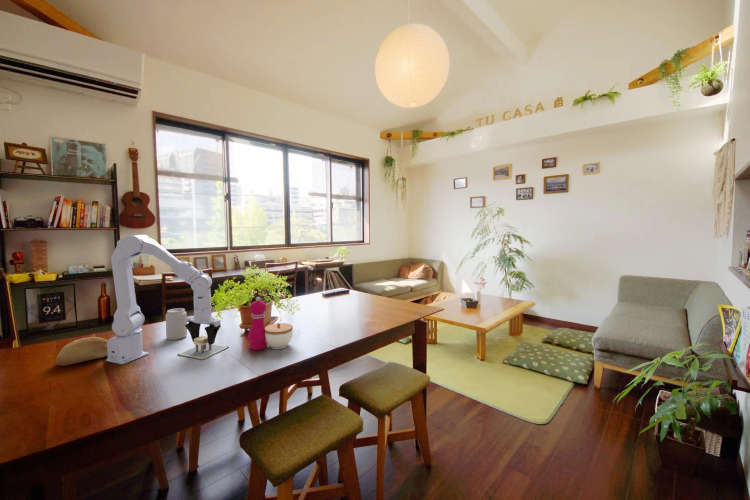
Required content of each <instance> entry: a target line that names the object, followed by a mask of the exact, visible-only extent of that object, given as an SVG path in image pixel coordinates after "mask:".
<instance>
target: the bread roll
mask: <svg viewBox="0 0 750 500" xmlns="http://www.w3.org/2000/svg"><path fill="white" fill-rule="evenodd" d="M108 340H109V339H105V338H103V337H98V336H87V337H81V338H78V339H75V340H73V341H70V342H68V344H66V345H65V346H63V347H62V348H61V350H60V351H59V353H58V354H57V356H56V358H55V362H56V364H57V365H58V366H63V367H64V366H69V365H70V366H71V365H74V364H79V363H83V362H86V361H90V360H94V359H100V358H104V357H108V353H107V342H108Z"/></svg>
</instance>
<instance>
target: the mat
mask: <svg viewBox="0 0 750 500" xmlns="http://www.w3.org/2000/svg"><path fill="white" fill-rule="evenodd" d="M227 349H229V345H228V346H226V345H222V344H221V345H220V344H215V343H213V344H212V349H209V344H208V343H207V344H206V348H205V349H204V353H201V345H198V352H196V345H195V346H192V347H191V348H188V349H186V350H184V351H181V352H179V353H177V356H180V357H186V358H190V359H196V360H200V361H205V360H206V359H208V358H210V357H213V356H214V355H216V354H218V353H220V352H223V351H225V350H227Z"/></svg>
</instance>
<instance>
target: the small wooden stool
mask: <svg viewBox="0 0 750 500" xmlns="http://www.w3.org/2000/svg"><path fill="white" fill-rule="evenodd" d="M207 343H208V337H207V334H203V335H199V337H197V338H195V339H194V342H193V345H195V346H196V352H198V345H201V353H204V349H205V348H206V344H207ZM209 349H212V344H211V345H209Z"/></svg>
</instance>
